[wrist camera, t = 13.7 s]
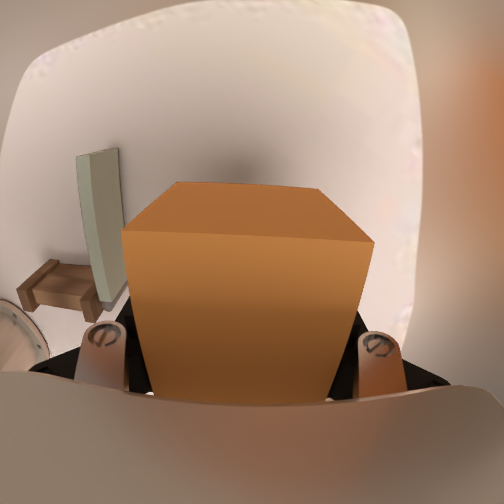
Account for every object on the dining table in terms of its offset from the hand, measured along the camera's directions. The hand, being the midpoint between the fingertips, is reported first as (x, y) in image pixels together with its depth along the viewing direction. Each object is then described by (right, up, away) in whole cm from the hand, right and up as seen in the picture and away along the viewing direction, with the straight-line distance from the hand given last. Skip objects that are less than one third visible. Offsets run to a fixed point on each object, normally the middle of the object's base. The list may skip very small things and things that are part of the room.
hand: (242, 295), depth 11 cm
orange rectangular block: (0, 0, 0) cm, 1 cm away
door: (-12, +5, +13) cm, 18 cm away
